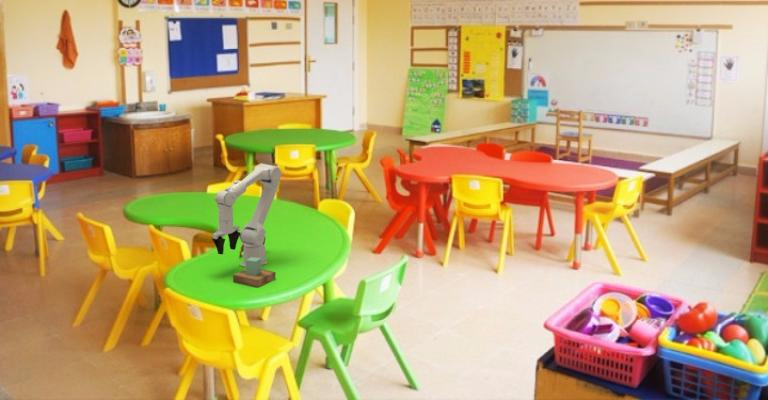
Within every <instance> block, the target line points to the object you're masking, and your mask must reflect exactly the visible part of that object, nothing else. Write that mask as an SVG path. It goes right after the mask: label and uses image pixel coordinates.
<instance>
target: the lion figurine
mask: <svg viewBox="0 0 768 400" xmlns="http://www.w3.org/2000/svg"><path fill="white" fill-rule="evenodd" d="M265 243H266V236H265V237H264V242H263V244H264V245H265ZM243 253H244V245H243V244H241V247H240V251H239V255H238V256H239V257H238V258H241V257H243Z"/></svg>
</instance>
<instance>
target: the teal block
mask: <svg viewBox="0 0 768 400" xmlns="http://www.w3.org/2000/svg"><path fill="white" fill-rule="evenodd" d="M261 269H262V266H261V258H255V257H250V258H249V259H247V260H246V267H245V270H246V274H247V275H254V276H257V275H258V274H260V273H261Z"/></svg>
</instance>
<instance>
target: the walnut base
mask: <svg viewBox="0 0 768 400" xmlns="http://www.w3.org/2000/svg"><path fill="white" fill-rule="evenodd" d="M275 280H276V271H272V270H267V269H263V268H261V273H260V274H258V275H257V276H254V275H247V274H246V269H243V270H241V271H239V272H237V273H234V274H233V275H232V282H233V283H236V284H241V285H243V286H244V285H245V286H248V287H252V288H260V287H261V286H264V285H266V284H268V283H270V282H273V281H275Z"/></svg>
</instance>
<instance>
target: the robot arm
mask: <svg viewBox="0 0 768 400" xmlns="http://www.w3.org/2000/svg"><path fill="white" fill-rule="evenodd" d="M282 175H283V174H282V170H281V169H280V167H279V166H277V165H271V164H265V163H259V164H258V165H256V166H255V167H254V169H253V170H252V171H251V172H250V173H249V174H248V175H246V176H245V177H244V178H243V179H242V180H234V181H233V183H232V184H230V185H229V186H227V187H225V189H224V190H219V191H218V192H217V193H216V195H215V197H214V201H215V203H216V205H217V209H218V210H217V211H218V228H217V230H216V231H215V232H213V233H212V234H211V235H212V237H211V240H212V242H213V244H215V245H214V246H215V247H216V251H217V254H218V255H224V248H225V246H224V245H225V242H226V238H223V237H224V236H228V240H229V242H228V243H229V249H230V250H232V251H233V250H236V247H237V243H238V240H240V242H242V244H243V245H244V251H243V262H242V263H240V264H239V266H240V267H244V268H246V260H247V259H249V258H250V257H255V258H261V267H262V266H264V265H266V264H268V261H267V260H266V258H267V257H266V256H267V253H266V247H265V244H263V242H264V237H265V238H266V232H267V231H266V228H265V227H264V224H265V223H266V220H267V219H266V218H267V216H268V214H269V211H270V209H271V206H272V203H273V201H274V198H275V196H276V194H277V191H278V189H279V183H280V180H281V178H282ZM258 181H260V183H261V184H262V185H263V189H262V192H261V194H260V197H259V199H258V202H257V204H256V208H255V210H254V211H253V215H252V217H251V220H250V221H249V222H247V223H245V224H244V227H243V228H242V229H241V228H240V225H239V226H238V225H234V210H233V209H234V207H233V205H235V203H236V201H237V199H238V198H239V197H240V196H242V195H243V194H245V193H246V192H247V188H248V187H251V185H253V184H255V183H256V182H258ZM240 229H241V231H240ZM242 244H241V245H242Z"/></svg>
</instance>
